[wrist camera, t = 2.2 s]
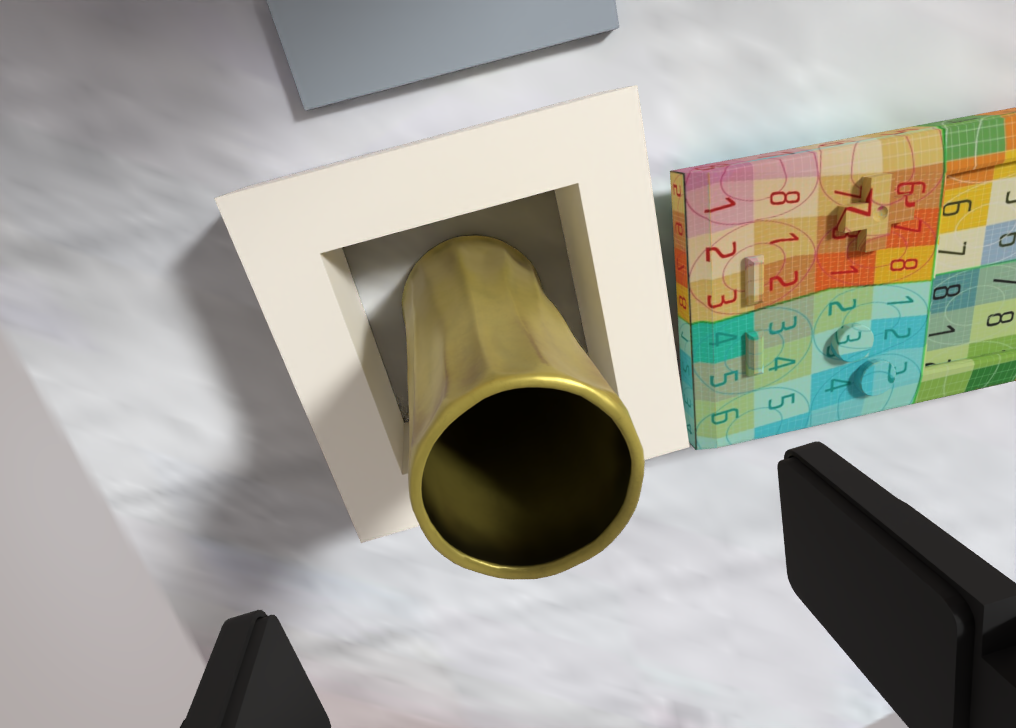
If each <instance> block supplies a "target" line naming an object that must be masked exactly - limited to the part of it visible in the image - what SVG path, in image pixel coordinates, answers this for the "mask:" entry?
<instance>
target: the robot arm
mask: <svg viewBox="0 0 1016 728" xmlns="http://www.w3.org/2000/svg"><path fill="white" fill-rule="evenodd" d="M778 479H779V490H780V501H781V512H782V523H783V534H784V545H785V556H786V566H787V575H788V579H789V582H790V584H791V587H792V588H793V590H794V592H795V593H796V595H797V596H798V597H799V598H800V600H801V601H802V602H803V603H804V604H805V605H806V607H807V608H808V609H809V610H810V611H811V613H812V614H813V615H814V616H815V617H816V618H817V620H818V621H819V622H820V623H821V624H822V626H823V627H824V628H825V629H826V630H827V631H828V633H829V634H830V635H831V636H832V637H833V639H834V640H835V641H836V642H837V643H838V644H839V646H840V647H841V648H842V649H843V650H844V652H845V653H846V654H847V655H848V656H849V658H850V659H851V660H852V661H853V662H854V663H855V665H856V666H857V667H858V668H859V669H860V671H861V672H862V673H863V674H864V675H865V676H866V678H867V679H868V680H869V681H870V682H871V684H872V685H873V686H874V687H875V688H876V689H877V691H878V692H879V693H880V694H881V695H882V697H883V698H884V699H885V700H886V701H887V702H888V704H889V705H890V706H891V707H892V708H893V710H894V711H895V712H896V713H897V714H898V715H899V717H900V718H901V719H902V720H903V721H904V722H905V724H906V725H907V726H908V727H909V728H1016V583H1015V582H1013V581H1012V580H1011V579H1009V578H1008V577H1007V576H1005V575H1004V574H1002V573H1001V572H1000V571H998V570H997V569H996V568H994V567H993V566H992V565H990V564H989V563H987V562H986V561H985V560H983V559H982V558H981V557H979V556H978V555H976V554H975V553H974V552H972V551H971V550H970V549H968V548H967V547H966V546H964V545H963V544H961V543H960V542H959V541H957V540H956V539H955V538H953V537H952V536H951V535H949V534H948V533H946V532H945V531H944V530H942V529H941V528H940V527H938V526H937V525H936V524H934V523H933V522H931V521H930V520H929V519H927V518H926V517H925V516H923V515H922V514H921V513H919V512H918V511H916V510H915V509H914V508H912V507H911V506H910V505H908V504H907V503H905V502H903V501H901V500H900V499H898V498H896V497H895V496H894V495H892V494H891V493H890V492H888V491H887V490H885V489H884V488H883V487H881V486H880V485H879V484H877V483H876V482H875V481H873V480H872V479H871V478H869V477H868V476H866V475H865V474H864V473H862V472H861V471H860V470H858V469H857V468H856V467H854V466H853V465H852V464H850V463H849V462H847V461H846V460H845V459H843V458H842V457H841V456H839V455H838V454H837V453H835V452H834V451H832V450H831V449H830V448H828V447H827V446H826V445H824V444H823V443H821V442H812V443H809V444H806V445H803V446H799V447H796V448H793V449H789V450H787V451H786V452H785V455H784V460H781V461H779V462H778ZM180 728H331V724H330V721H329V718H328V716H327V714H326V712H325V710H324V708H323V706H322V704H321V702H320V700H319V698H318V696H317V694H316V692H315V690H314V688H313V686H312V684H311V682H310V681H309V679H308V677H307V675H306V673H305V671H304V669H303V667H302V665H301V663H300V661H299V659H298V657H297V655H296V653H295V651H294V649H293V647H292V645H291V643H290V641H289V639H288V637H287V636H286V634H285V632H284V630H283V628H282V626H281V624H280V622H279V620H278V618H277V617H276V616H275V615H270V616H267V615H266V613H265V612H263V611H262V610H257V611H253V612H250V613H247V614H243V615H240V616H237V617H233V618H230V619H228V620H226V621H225V622H224V624H223V626H222V628H221V631H220V633H219V636H218V638H217V641H216V643H215V646H214V648H213V651H212V653H211V656H210V659H209V661H208V664H207V666H206V669H205V671H204V674H203V676H202V679H201V681H200V684H199V687H198V689H197V692H196V694H195V697H194V699H193V702H192V704H191V707H190V709H189V712H188V714H187V717H186V719H185V720H184V721H183V723H182V725H181V726H180Z"/></svg>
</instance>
